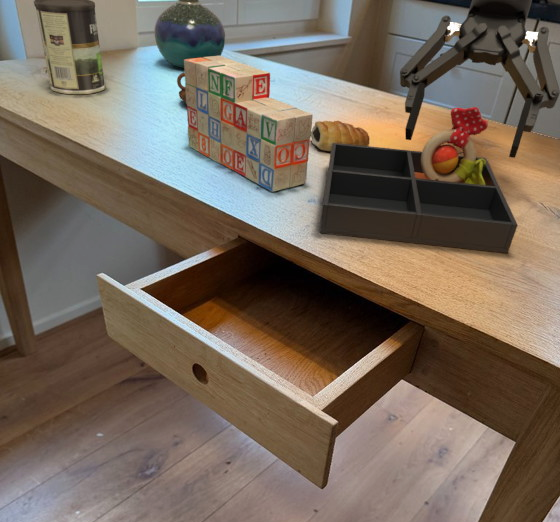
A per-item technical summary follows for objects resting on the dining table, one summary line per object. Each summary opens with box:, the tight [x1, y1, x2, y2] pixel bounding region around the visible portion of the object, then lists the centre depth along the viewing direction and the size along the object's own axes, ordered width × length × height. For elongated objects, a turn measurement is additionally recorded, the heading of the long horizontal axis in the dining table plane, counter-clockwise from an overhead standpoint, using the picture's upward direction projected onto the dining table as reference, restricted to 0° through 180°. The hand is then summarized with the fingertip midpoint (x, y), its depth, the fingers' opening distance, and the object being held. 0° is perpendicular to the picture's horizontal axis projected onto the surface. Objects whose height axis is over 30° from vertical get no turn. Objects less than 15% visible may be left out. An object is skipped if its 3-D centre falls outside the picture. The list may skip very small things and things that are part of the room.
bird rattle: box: [421, 106, 489, 185], centre depth 75 cm, size 6×11×9 cm
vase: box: [154, 0, 226, 69], centre depth 124 cm, size 15×15×13 cm
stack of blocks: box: [183, 55, 314, 193], centre depth 79 cm, size 21×6×12 cm, turn 39°
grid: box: [319, 143, 518, 254], centre depth 74 cm, size 22×22×4 cm
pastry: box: [310, 120, 371, 152], centre depth 90 cm, size 9×7×4 cm
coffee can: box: [33, 0, 106, 95], centre depth 104 cm, size 10×10×14 cm
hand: (459, 143), depth 73 cm, fingers open, 13 cm apart
